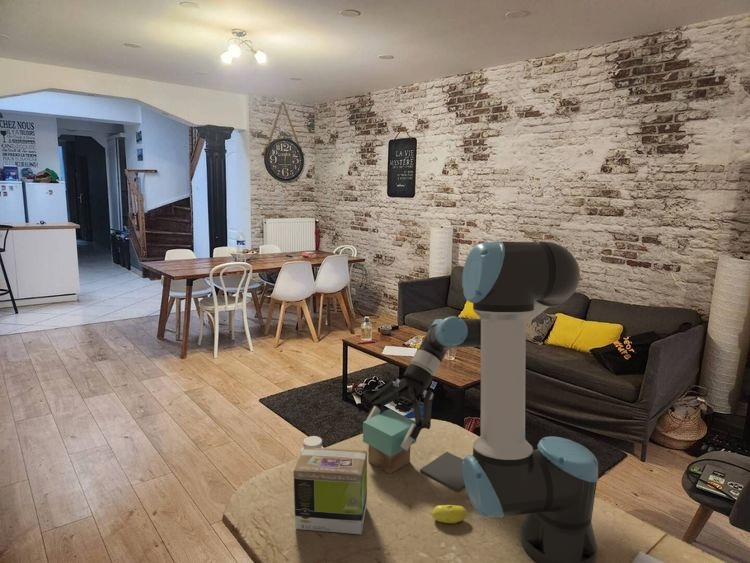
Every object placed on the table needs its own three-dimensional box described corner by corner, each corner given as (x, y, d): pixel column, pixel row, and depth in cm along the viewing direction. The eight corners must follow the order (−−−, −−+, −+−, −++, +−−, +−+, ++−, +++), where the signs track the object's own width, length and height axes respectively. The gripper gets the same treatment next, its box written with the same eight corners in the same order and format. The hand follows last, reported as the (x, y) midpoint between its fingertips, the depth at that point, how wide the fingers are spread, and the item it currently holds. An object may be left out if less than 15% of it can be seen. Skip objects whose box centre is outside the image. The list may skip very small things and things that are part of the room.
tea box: (367, 506, 116) (368, 449, 113) (361, 536, 106) (362, 475, 103) (304, 500, 118) (303, 444, 114) (293, 530, 108) (292, 470, 105)
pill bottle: (317, 469, 130) (317, 431, 127) (329, 481, 125) (329, 442, 122) (296, 478, 126) (295, 438, 124) (308, 490, 121) (307, 450, 119)
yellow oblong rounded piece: (431, 513, 114) (431, 498, 113) (465, 515, 114) (466, 500, 113) (432, 526, 110) (432, 511, 109) (468, 528, 110) (469, 513, 109)
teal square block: (416, 441, 133) (417, 422, 132) (391, 456, 126) (391, 436, 124) (388, 428, 140) (388, 409, 138) (362, 441, 132) (363, 421, 131)
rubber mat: (484, 471, 130) (484, 469, 130) (458, 492, 122) (458, 489, 122) (446, 453, 138) (446, 451, 138) (420, 471, 130) (420, 469, 130)
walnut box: (409, 461, 134) (411, 424, 132) (390, 474, 128) (391, 435, 126) (388, 450, 139) (389, 414, 137) (368, 461, 134) (368, 424, 131)
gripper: (464, 389, 132) (427, 462, 125) (394, 364, 149) (358, 426, 141) (453, 377, 127) (414, 452, 120) (382, 351, 144) (344, 416, 136)
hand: (384, 438), depth 131 cm, fingers open, 13 cm apart
